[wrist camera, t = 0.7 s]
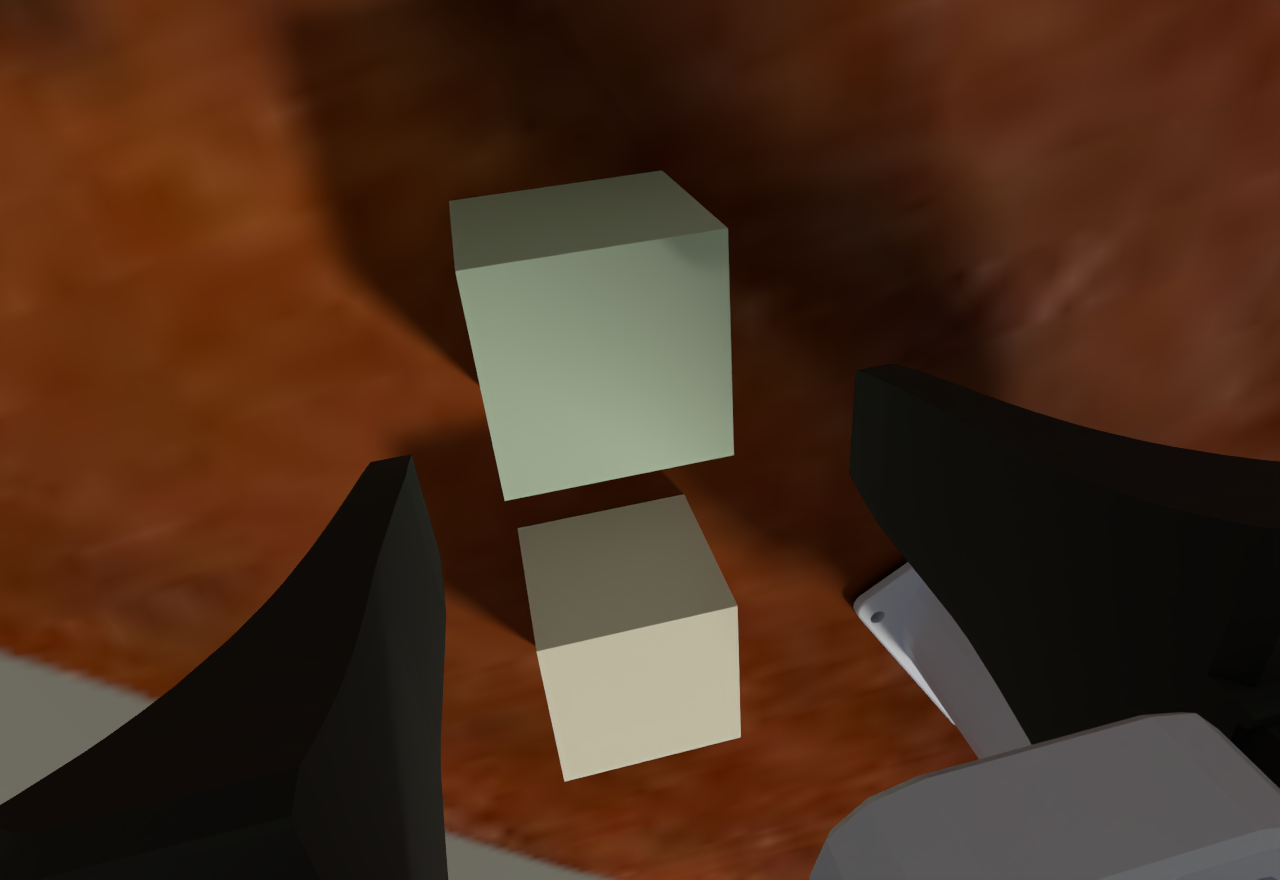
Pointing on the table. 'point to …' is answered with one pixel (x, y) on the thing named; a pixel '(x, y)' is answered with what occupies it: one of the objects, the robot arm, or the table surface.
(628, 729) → the cream block
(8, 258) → the table surface
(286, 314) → the table surface
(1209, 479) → the robot arm
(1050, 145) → the table surface
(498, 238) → the sage green block
